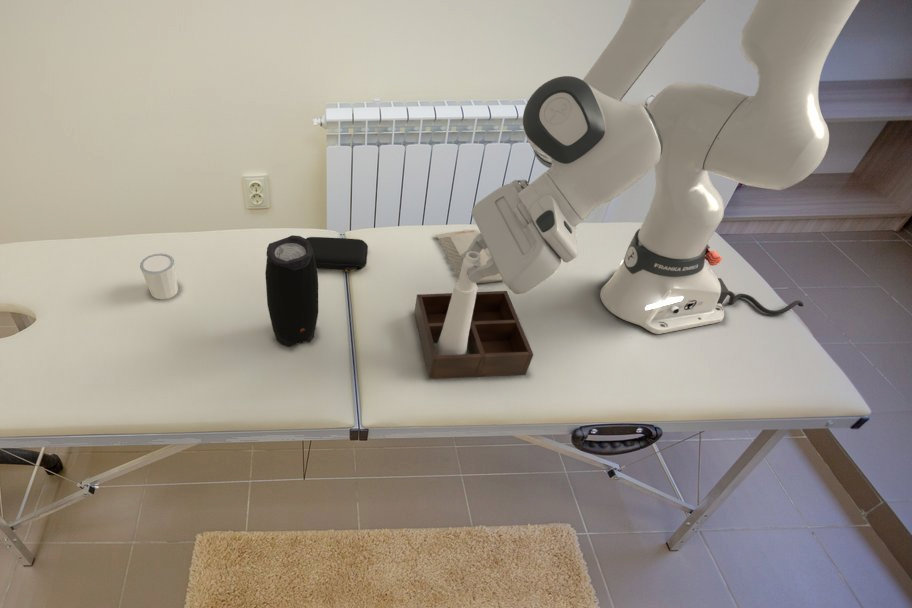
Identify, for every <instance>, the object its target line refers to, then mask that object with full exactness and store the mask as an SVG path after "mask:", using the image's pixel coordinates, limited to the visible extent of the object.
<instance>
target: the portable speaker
mask: <svg viewBox="0 0 912 608" xmlns="http://www.w3.org/2000/svg"><path fill="white" fill-rule="evenodd" d="M318 273H319V272H318V269H317V266H316V261H315V256H314V252H313V248H312V246H311V244H310V242H309V240H307V239H306V238H305V237H302V236H301V235H290V236H287V237H284V238H281V239H279V240H276V241H273V242H270V243H268V245H267V247H266V264H265V273H264V274H265V289H266V291H265V292H266V303H267V310H268V313H269V319H270V323H271V327H272V332H273V333H274V337H275V340H276V341H277V342H278V343H279V344H280V345H281V346H285V347H288V348H291V347H292V346H293V345H294V346H295V345H299V344H302V343H306V342H307V343H311V342H312V341H313V339H314V338H315V332H316V328H317V322H318V317H319V274H318Z"/></svg>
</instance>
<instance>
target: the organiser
mask: <svg viewBox="0 0 912 608" xmlns="http://www.w3.org/2000/svg"><path fill="white" fill-rule="evenodd" d="M452 293H453V292H445V293H424V294H423V293H421V294H416V297H415V304H414V305H415V306H414V311H413V316H414V321H415V325H416V329H417V334H418V337H419V341H420V346H421V351H422V354H423V359H424V363H425V367H426V371H427V375H428V379H429V380H431V379H432V380H437V379H438V380H439V379H456V378H458V379H459V378H479V377H483V378H484V377H504V376H526V375H527V372H528V370H529V367H530V365H531V362H532V359H533V357H534V352H533V349H532V348H531V345H530V343H529V341H528V338H527V335H526V333H525V331H524V328H523V326H522V323H521V322H520V319H519V317H518V314H517V312H516V309H515V307H514V304H513V302H512V299H511V297H510V295H509V293H508V290H495V291H494V290H493V291H491V290H490V291H477V293H476V299H475V304H474V309H473V314H472V319H471V325H470V330H469V336H468V343H467V354H463V355H440V356H437V354H436V350H435V348H436V345H437V343H438V340H439V338H440V335H441V332H442V329H443V325H444V322H445V318H446V315H447V311H448V307H449V304H450V300H451V296H452Z"/></svg>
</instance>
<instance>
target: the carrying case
mask: <svg viewBox="0 0 912 608" xmlns="http://www.w3.org/2000/svg"><path fill="white" fill-rule="evenodd" d="M305 239H307V240H309V242H310V244H311V246H312V248H313V252H314V256H315V261H316V266H317V270H318V269H319V270H335V271H342V272H344V273H351V272H357V271H362V269H364V268H365V267H366V266H367V262H368V253H369V252H368V251H369V245H368V244H367V242H365V240H363V239H360V238H347V237H346V238H345V237H329V236H327V237H325V236H307V237H306V238H305Z"/></svg>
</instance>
